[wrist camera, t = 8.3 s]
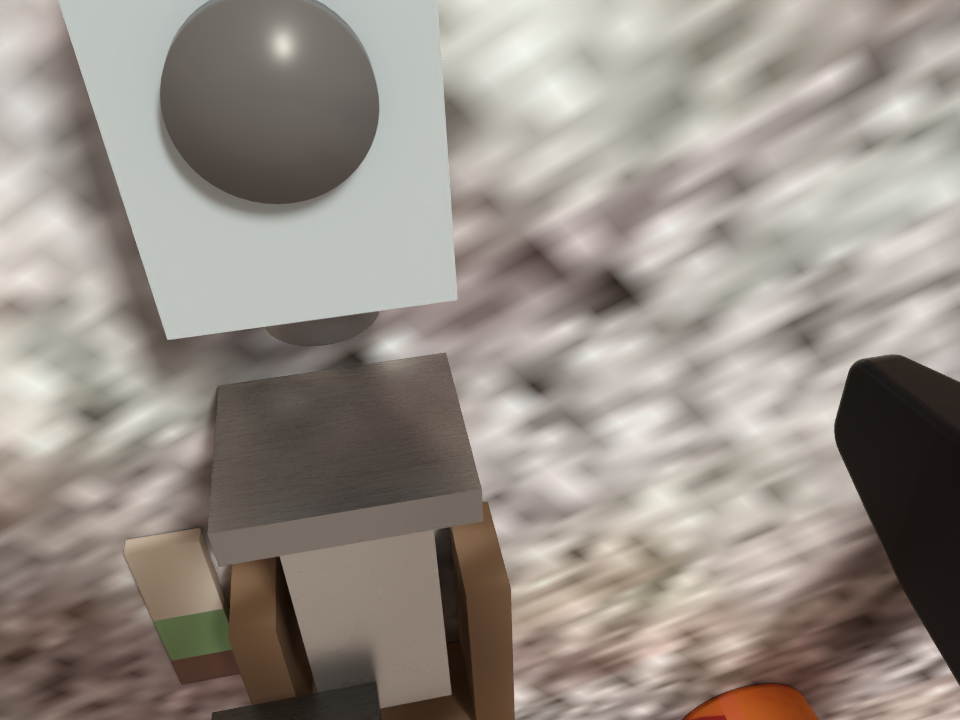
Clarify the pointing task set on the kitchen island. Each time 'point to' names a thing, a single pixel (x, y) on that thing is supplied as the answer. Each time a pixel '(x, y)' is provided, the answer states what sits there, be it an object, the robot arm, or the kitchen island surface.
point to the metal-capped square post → (348, 522)
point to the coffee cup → (756, 705)
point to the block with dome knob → (275, 157)
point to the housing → (276, 634)
